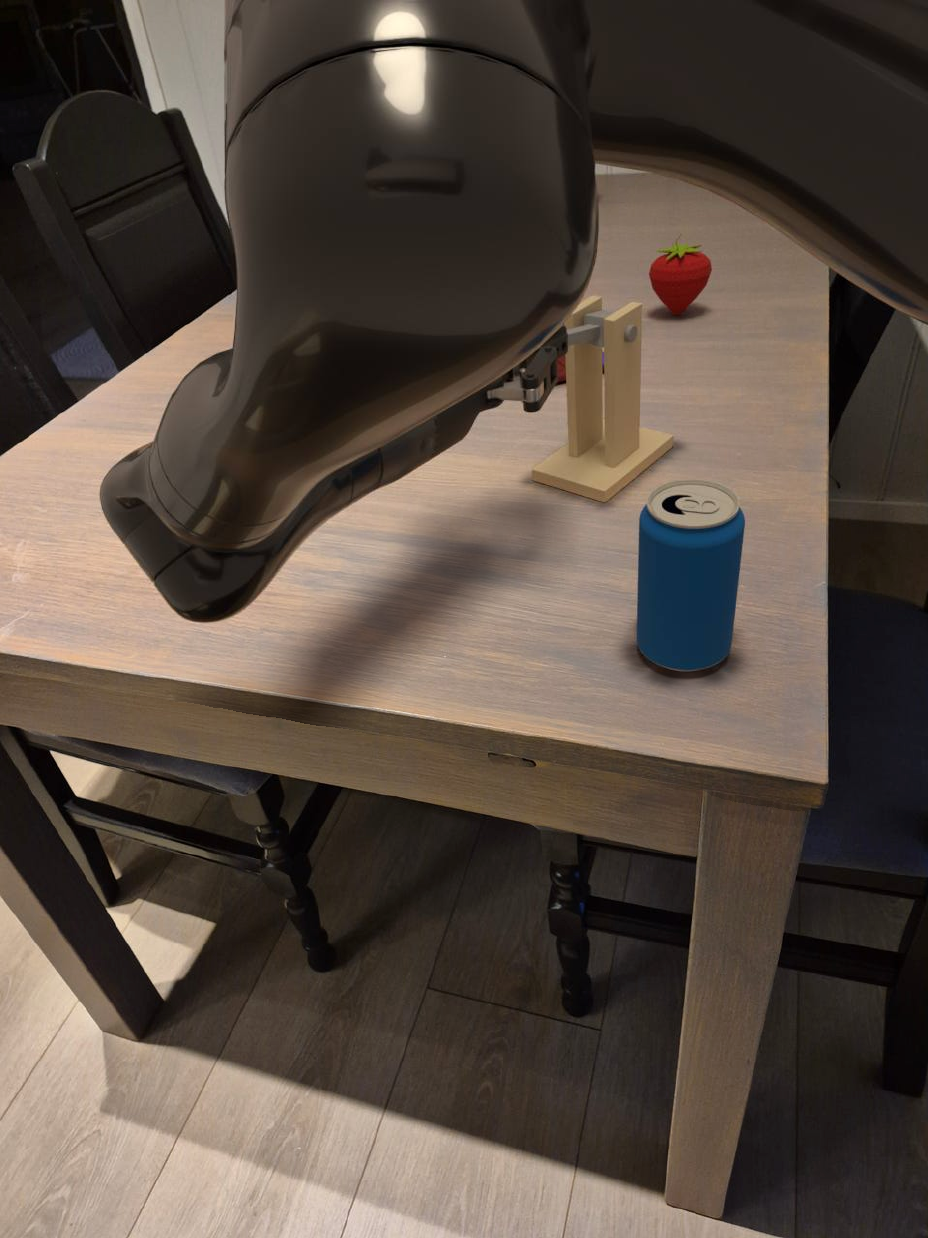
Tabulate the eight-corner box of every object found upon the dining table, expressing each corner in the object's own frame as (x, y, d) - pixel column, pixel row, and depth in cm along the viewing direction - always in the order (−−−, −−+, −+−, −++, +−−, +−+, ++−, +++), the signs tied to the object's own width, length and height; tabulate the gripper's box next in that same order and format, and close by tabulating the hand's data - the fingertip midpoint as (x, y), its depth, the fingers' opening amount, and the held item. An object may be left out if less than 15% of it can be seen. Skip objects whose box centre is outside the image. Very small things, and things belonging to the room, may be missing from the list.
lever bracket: (605, 502, 78) (604, 340, 69) (532, 480, 83) (522, 324, 74) (673, 446, 85) (681, 290, 76) (603, 427, 90) (601, 279, 80)
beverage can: (646, 613, 66) (651, 470, 58) (736, 626, 64) (753, 480, 56) (627, 670, 61) (629, 523, 54) (723, 686, 59) (739, 535, 52)
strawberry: (714, 319, 109) (720, 234, 102) (653, 327, 109) (655, 242, 103) (702, 303, 113) (707, 220, 107) (643, 310, 113) (645, 228, 107)
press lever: (521, 383, 67) (524, 333, 65) (484, 374, 69) (486, 326, 67) (627, 350, 77) (632, 307, 75) (592, 343, 79) (596, 301, 77)
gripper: (467, 383, 53) (619, 296, 63) (309, 346, 61) (466, 273, 71) (477, 493, 58) (618, 395, 68) (329, 445, 66) (474, 364, 76)
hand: (539, 333), depth 69 cm, fingers closed on press lever, 3 cm apart
